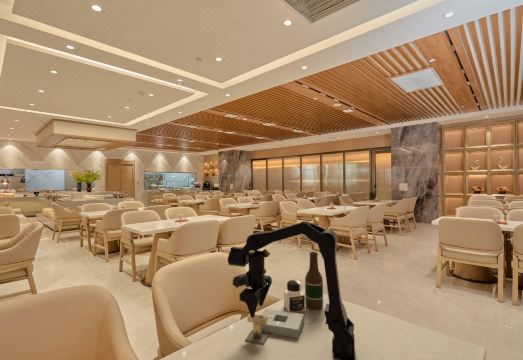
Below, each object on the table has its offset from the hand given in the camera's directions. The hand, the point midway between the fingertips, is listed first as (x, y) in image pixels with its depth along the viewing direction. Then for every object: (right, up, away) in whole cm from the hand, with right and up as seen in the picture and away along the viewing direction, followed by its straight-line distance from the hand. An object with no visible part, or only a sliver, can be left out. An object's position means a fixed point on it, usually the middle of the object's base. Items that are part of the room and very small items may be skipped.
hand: (256, 311), depth 100 cm
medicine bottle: (+16, -10, +22) cm, 29 cm away
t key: (0, -9, 0) cm, 9 cm away
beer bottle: (+25, -9, +24) cm, 36 cm away
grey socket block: (+9, -9, +8) cm, 15 cm away
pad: (0, -9, 0) cm, 9 cm away
